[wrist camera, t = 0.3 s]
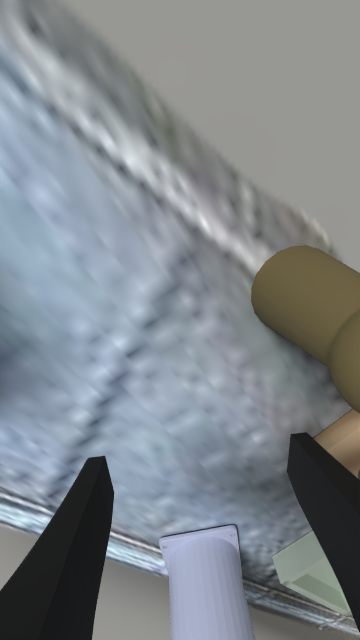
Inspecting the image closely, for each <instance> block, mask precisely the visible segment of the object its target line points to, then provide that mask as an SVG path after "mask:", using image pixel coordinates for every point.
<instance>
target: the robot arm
mask: <svg viewBox="0 0 360 640" xmlns="http://www.w3.org/2000/svg"><path fill="white" fill-rule="evenodd" d="M287 473H288V476H289V478H290V481H291V484H292V487H293V489H294V492H295V494H296V497H297V499H298V502H299V504H300V506H301V508H302V510H303V512H304V514H305V516H306V518H307V520H308V522H309V524H310V526H311V528H312V530H313V532H314V534H315V536H316V538H317V540H318V542H319V544H320V545H321V547H322V549H323V551H324V553H325V555H326V557H327V559H328V561H329V563H330V565H331V567H332V569H333V571H334V574H335V576H336V578H337V580H338V582H339V584H340V586H341V589H342V591H343V594H344V596H345V598H346V601H347V603H348V606H349V608H350V610H351V613H352V615H353V618H354V620H355V622H356V625H357V627H358V630H359V632H360V480H359V479H358V478H357V477H356V476H355V475H354V474H352V473H351V472H350V471H349V470H348V469H347V468H345V467H344V466H343V465H342V464H341V463H340V462H339V461H338V460H336V459H335V458H334V457H333V456H332V455H331V454H330V453H329V452H328V451H326V450H325V449H324V448H323V447H322V446H321V445H320V444H319V443H318V442H317V441H315V440H314V439H313V438H312V437H311V436H310V435H309V434H308V433H306V432H305V433H297V434H291V438H290V447H289V457H288V466H287ZM113 501H114V490H113V486H112V482H111V478H110V474H109V470H108V466H107V462H106V458H105V456H100V457H91V458H88V459H87V460H86V462H85V464H84V466H83V468H82V469H81V471H80V473H79V475H78V477H77V478H76V480H75V482H74V483H73V485H72V487H71V489H70V490H69V492H68V494H67V495H66V497H65V499H64V500H63V502H62V503H61V505H60V507H59V508H58V510H57V511H56V513H55V515H54V516H53V518H52V519H51V521H50V522H49V524H48V525H47V527H46V528H45V530H44V531H43V533H42V534H41V536H40V537H39V539H38V540H37V542H36V543H35V545H34V546H33V548H32V549H31V550H30V552H29V553H28V555H27V556H26V557H25V559H24V560H23V562H22V563H21V564H20V566H19V567H18V568H17V570H16V571H15V572H14V574H13V575H12V576H11V578H10V579H9V580H8V582H7V583H6V584H5V585H4V587H3V588H2V589H1V591H0V640H92V634H93V625H94V617H95V611H96V604H97V599H98V593H99V588H100V583H101V577H102V572H103V566H104V561H105V556H106V551H107V545H108V540H109V534H110V529H111V523H112V512H113ZM159 545H160V548H161V552H162V555H163V558H164V561H165V564H166V567H167V571H168V574H169V587H170V616H171V617H170V619H171V640H255V635H254V631H253V627H252V622H251V617H250V613H249V608H248V604H247V600H246V595H245V591H244V586H243V582H242V568H241V560H240V552H239V544H238V536H237V529H236V526H234V525H229V526H223V527H218V528H212V529H207V530H201V531H196V532H190V533H185V534H179V535H173V536H168V537H163V538H161V539H160V540H159Z"/></svg>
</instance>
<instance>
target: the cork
mask: <svg viewBox="0 0 360 640" xmlns="http://www.w3.org/2000/svg"><path fill="white" fill-rule="evenodd" d="M251 302H252V305H253V308H254V311H255V313H256V315H257V316H258V317H259V319H260V320H261V321H262V322H263V323H264V324H266V325H267V326H269V327H270V328H272V329H273V330H275V331H276V332H278V333H279V334H280V335H282V336H283V337H285V338H286V339H288V340H289V341H291V342H292V343H294V344H295V345H296V346H298V347H299V348H301V349H302V350H304V351H305V352H307V353H308V354H310V355H311V356H313V357H314V358H315V359H317V360H318V361H320V362H321V363H323V364H324V365H326V366H327V367H329V370H330V375H331V379H332V381H333V383H334V385H335V387H336V389H337V390H338V391H339V393H340V394H341V395H342V397H343V398H344V399H345V401H346V402H347V403H348V404H349V405H350V406H351V407H352V408H353V409H354V410H355V411H357V412H358V413H360V273H359V272H357V271H355V270H353V269H352V268H350V267H348V266H347V265H345V264H343V263H342V262H340V261H338V260H337V259H335V258H333V257H332V256H330V255H328V254H326V253H325V252H323V251H321V250H320V249H317V248H313V247H310V246H294V247H290V248H287V249H285V250H282V251H280V252H277V253H276V254H275V255H274V256H272V257H271V258H270V259H269V260H267V261H266V262H265V263H264V265H263V266H262V267H261V269H260V270H259V272H258V273H257V274H256V277H255V280H254V283H253V285H252V294H251Z"/></svg>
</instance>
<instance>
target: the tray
mask: <svg viewBox="0 0 360 640" xmlns="http://www.w3.org/2000/svg"><path fill="white" fill-rule="evenodd" d="M272 559H273V562H274V565H275V568H276V571H277V574H278V577H279V580H280V583H281V584H282V585H284V586H286V587H288V588H290V589H292V590H294V591H296V592H298V593H300V594H302V595H304V596H306V597H308V598H310V599H312V600H314V601H316V602H318V603H320V604H322V605H324V606H326V607H328V608H330V609H332V610H334V611H336V612H338V613H340V614H342V615H344V616H346V617H348V616H350V615H352V613H351V610H350V608H349V606H348V603H347V601H346V598H345V596H344V594H343V591H342V589H341V586H340V584H339V582H338V580H337V578H336V576H335V574H334V571H333V569H332V567H331V565H330V563H329V561H328V559H327V557H326V555H325V553H324V551H323V549H322V547H321V545H320V544H319V542H318V540H317V538H316V536H315V534H314V532H313V531H311V532H309V533H308V534H306V535H305V536H303V537H302V538H300V539H299V540H297V541H295V542H294V543H292V544H291V545H289V546H288V547H286V548H285V549H283V550H281V551H280V552H278V553H277V554H275V555H274V556H272Z"/></svg>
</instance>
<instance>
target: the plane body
mask: <svg viewBox="0 0 360 640" xmlns="http://www.w3.org/2000/svg"><path fill="white" fill-rule="evenodd" d="M313 439H314V440H315V441H317V442H318V443H319V444H320V445H321V446H322V447H323V448H324V449H325V450H326V451H328V452H329V453H330V454H331V455H332V456H333V457H334V458H335V459H336V460H338V461H339V462H340V463H341V464H342V465H343V466H344V467H345V468H347V469H348V470H349V471H350V472H351V473H352V474H354V475H355V476H356V477H357V478H358V479H359V480H360V413H358V412H357V411H355V410H354V409H352V410H351V411H349V412H348V413H347V414H345V415H344V416H343V417H341V418H340V419H339V420H337V421H336V422H335V423H333V424H332V425H330V426H329V427H328V428H326V429H325V430H324V431H322V432H321V433H320V434H318V435H317V436H316V437H314V438H313Z"/></svg>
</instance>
